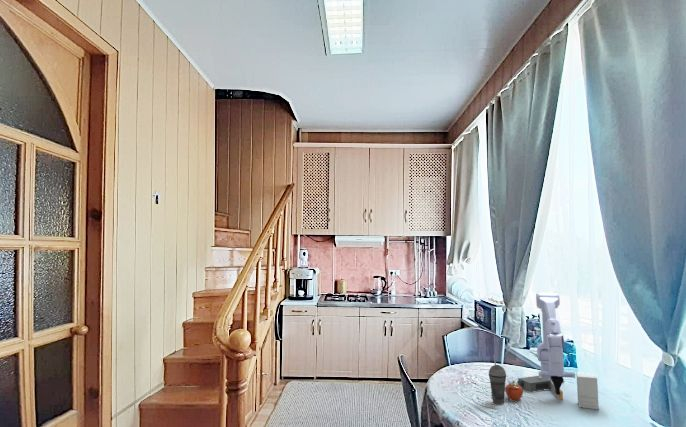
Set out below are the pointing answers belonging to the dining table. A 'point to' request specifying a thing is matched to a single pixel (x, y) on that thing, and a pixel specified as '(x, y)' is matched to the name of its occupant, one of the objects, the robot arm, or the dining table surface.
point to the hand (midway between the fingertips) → (557, 394)
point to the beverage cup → (497, 383)
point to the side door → (559, 391)
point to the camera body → (534, 383)
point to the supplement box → (587, 390)
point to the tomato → (514, 391)
